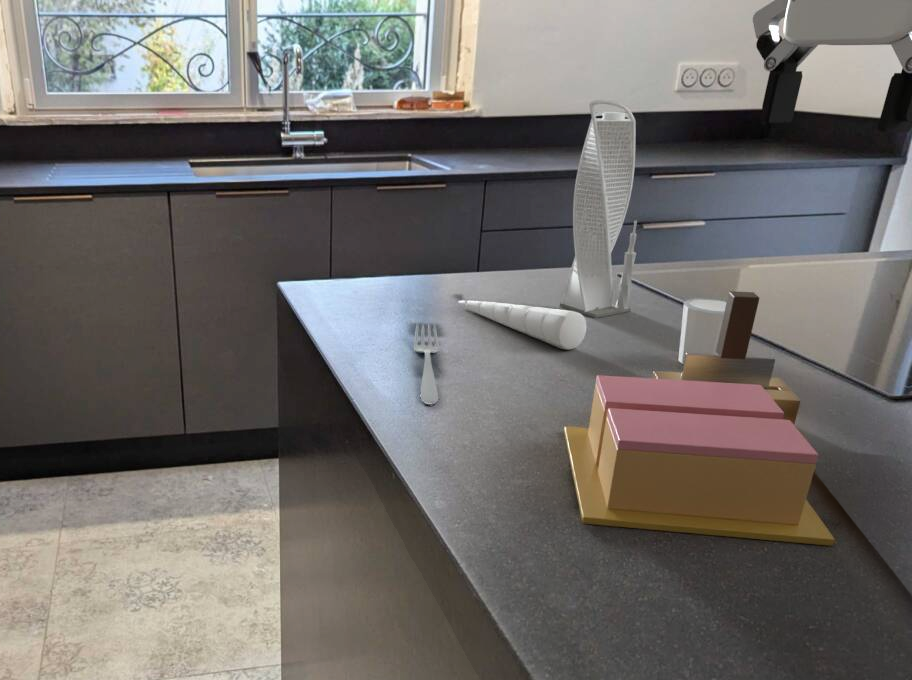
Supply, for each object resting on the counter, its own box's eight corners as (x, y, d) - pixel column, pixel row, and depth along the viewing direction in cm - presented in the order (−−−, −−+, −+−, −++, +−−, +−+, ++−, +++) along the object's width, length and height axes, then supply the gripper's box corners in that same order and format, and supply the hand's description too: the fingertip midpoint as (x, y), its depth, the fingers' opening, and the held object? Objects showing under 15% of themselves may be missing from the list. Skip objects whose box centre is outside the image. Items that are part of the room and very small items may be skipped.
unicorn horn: (479, 302, 123) (482, 270, 121) (587, 349, 103) (592, 311, 101) (452, 306, 121) (454, 273, 119) (556, 354, 101) (561, 316, 99)
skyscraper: (588, 319, 115) (619, 101, 103) (546, 305, 121) (571, 99, 109) (630, 311, 118) (665, 99, 106) (588, 298, 125) (617, 97, 113)
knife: (755, 421, 82) (787, 293, 77) (761, 429, 80) (794, 298, 75) (670, 415, 84) (695, 289, 78) (674, 423, 82) (700, 295, 76)
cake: (762, 445, 77) (779, 379, 74) (833, 546, 61) (858, 466, 58) (563, 431, 80) (572, 367, 77) (582, 523, 64) (594, 447, 61)
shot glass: (666, 364, 98) (677, 307, 94) (680, 349, 103) (690, 294, 100) (729, 375, 94) (742, 316, 91) (740, 359, 99) (753, 302, 96)
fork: (414, 405, 86) (415, 389, 86) (413, 336, 108) (413, 323, 107) (445, 406, 86) (446, 390, 85) (437, 336, 108) (438, 323, 107)
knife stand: (770, 414, 84) (780, 377, 82) (790, 439, 78) (801, 400, 76) (646, 406, 86) (653, 370, 84) (657, 430, 80) (664, 392, 79)
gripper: (1072, -154, 52) (978, 134, 60) (815, -110, 66) (764, 119, 74) (1008, -168, 49) (917, 138, 57) (752, -118, 63) (706, 122, 70)
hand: (831, 127), depth 65 cm, fingers open, 9 cm apart
